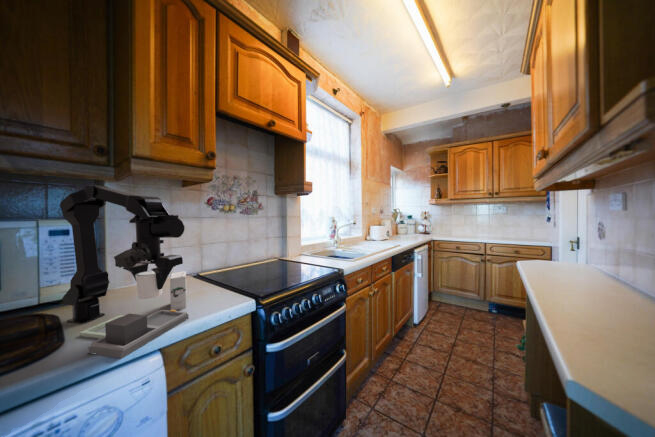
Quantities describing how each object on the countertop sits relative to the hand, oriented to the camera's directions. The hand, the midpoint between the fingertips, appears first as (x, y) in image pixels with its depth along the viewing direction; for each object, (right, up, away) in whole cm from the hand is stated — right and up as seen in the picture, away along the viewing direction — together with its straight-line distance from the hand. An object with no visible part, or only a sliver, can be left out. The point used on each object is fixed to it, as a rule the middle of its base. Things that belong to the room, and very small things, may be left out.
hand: (150, 288), depth 71 cm
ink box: (-2, -11, +16) cm, 20 cm away
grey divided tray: (+1, -12, -4) cm, 12 cm away
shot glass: (0, -2, 0) cm, 2 cm away
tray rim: (-10, -12, -1) cm, 15 cm away
